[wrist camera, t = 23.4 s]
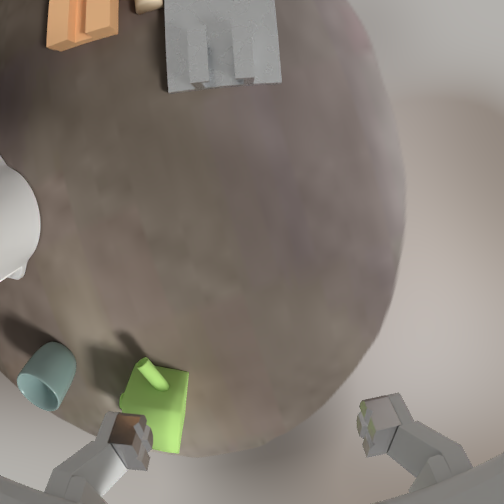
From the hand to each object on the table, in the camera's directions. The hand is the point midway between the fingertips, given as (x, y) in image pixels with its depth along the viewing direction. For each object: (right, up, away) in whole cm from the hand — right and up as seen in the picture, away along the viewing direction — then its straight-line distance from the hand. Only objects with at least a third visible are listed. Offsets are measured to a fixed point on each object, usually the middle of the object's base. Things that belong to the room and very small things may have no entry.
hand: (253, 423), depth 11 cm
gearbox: (-15, -15, +37) cm, 42 cm away
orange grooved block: (-20, +36, +17) cm, 44 cm away
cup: (-31, -11, +34) cm, 48 cm away
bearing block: (-3, +30, +20) cm, 36 cm away
